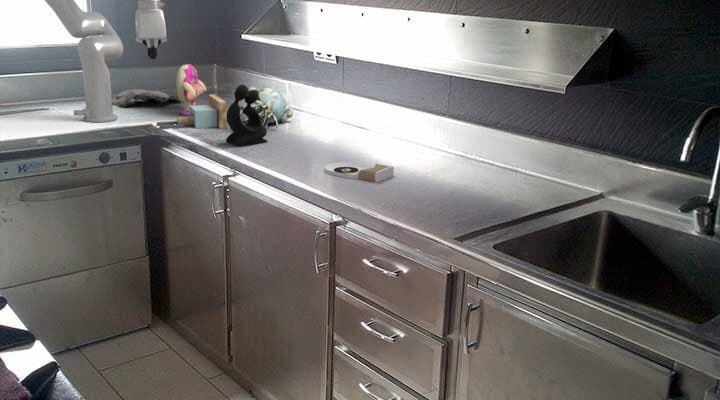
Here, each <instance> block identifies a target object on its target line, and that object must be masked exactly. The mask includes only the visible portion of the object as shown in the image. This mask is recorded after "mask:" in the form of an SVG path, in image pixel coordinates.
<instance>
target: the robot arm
mask: <svg viewBox="0 0 720 400" xmlns="http://www.w3.org/2000/svg"><path fill="white" fill-rule="evenodd" d="M44 1H45V3H46V4H47V5H48V6H49V7H50V9H52V11H53V13H54V14H55V15H56V17H57V19H59V21H60V22H61V24H62V25H63V26H64V28H65V29H66V31H67V32H68V33H69V35H70V36H71V37H73V38H76V39H80V40H79V41H78V43H77V51H78V53H77V54H78V56H79V60H80V63H81V69H82V78H83V85H84V86H83V87H84V89H83V90H84V98H85V107H84V108H82V109H74V110H73V115H74V116H82V120H83V121H84V122H86V123H87V122H89V123H106V122H114V121H117V120H118V118H119V116H118V115H117V114H114V109H113V98H112V95H113V94H112V86H111V85H112V84H111V74H110V70H109V67H108V66H107V64H106V62H105V61H110V60H111V61H112V60H116V59H119V58H120V57H121V56H122V55H123V53H124V45H123V42H122V40H121V38H120V36H119V35H118V34H117V32H116V31H115V30H114V28H113V27H112V25H111V24H110V22H109V20H107V19H106V17H105V16H104V15H103V14H101V13H100V12H96V11H83V10H82V9H81V8H80V6H79V5H78V4H77V2H76V1H75V0H44ZM137 4H138V7H137V8H138V9H136V10H135V18H134V19H135V35H136V36H135V42H136V43H139V44H140V43H141V44H144V46H145V47H146V48H147V57H149V60H156V59H157V58H156V57H158V49H157V48H158V47H159V46H160V45H161V44H163V43H166V42H168V38H167V27H166V26H167V25H166V20H165V15H164V11H163V9H162V8H164V7H166V4H165V2H162V1H161V0H138V1H137ZM150 40H153V43H152V45H151V41H150Z"/></svg>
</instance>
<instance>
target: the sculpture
mask: <svg viewBox="0 0 720 400" xmlns="http://www.w3.org/2000/svg"><path fill="white" fill-rule="evenodd" d="M247 88H248V91H250V90H253V89H254V90H257V89H256V88H255V87H254V86H248V87H247ZM257 91H258V92H259V98H260V100H257V101H256V102H254V103H252V104H251V107H253V108H254V109H255V110H257V112H258V113H259V115H260V118H261V122H262V124H263V125H264V126H265V128H266V130H268V124H272V123H275V124H276V125H275V128H276V129H279V126H278V125H279V124H278V123H280V122H281V123H283V124H287V122H288V120H289V119H290V118H292V117H293V115H294V112H293V110H292V109H291V108H287V107H288V102H287V99H286V98H285V95H282V94H281V91H278V90H277V89H276V88H275V89H274V88H273V87H272V86H271V85H269V86H264V87H262V88H260V89H258V90H257ZM246 106H247V104H246V105H240V111H243V109H244V108H245V107H246ZM244 116H246V115H245V114H244V113H242V112H240V118H243V117H244ZM243 121H244V122H245V121H246V122H245V124H246V123H247V122H248V117H247V116H246V118H245V119H244V120H243Z"/></svg>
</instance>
